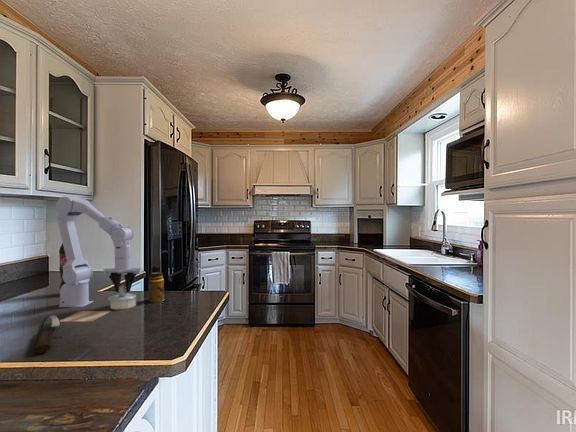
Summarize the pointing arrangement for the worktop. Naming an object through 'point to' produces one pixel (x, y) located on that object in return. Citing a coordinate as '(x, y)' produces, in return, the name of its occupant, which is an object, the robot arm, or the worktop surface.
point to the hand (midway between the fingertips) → (123, 291)
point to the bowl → (123, 304)
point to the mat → (84, 316)
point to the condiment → (156, 287)
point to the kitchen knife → (46, 335)
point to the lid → (122, 295)
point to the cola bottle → (62, 263)
